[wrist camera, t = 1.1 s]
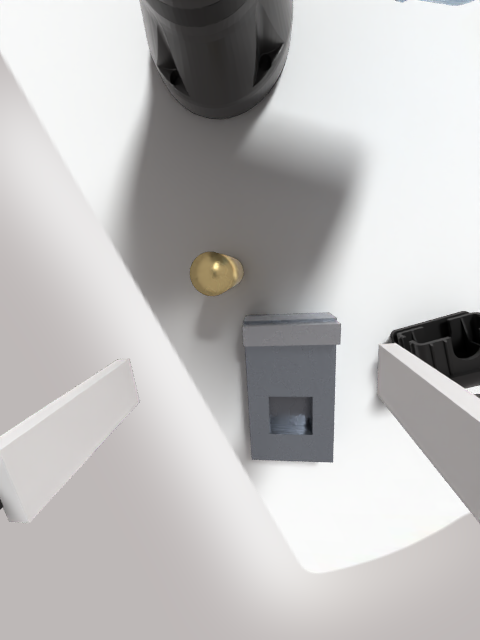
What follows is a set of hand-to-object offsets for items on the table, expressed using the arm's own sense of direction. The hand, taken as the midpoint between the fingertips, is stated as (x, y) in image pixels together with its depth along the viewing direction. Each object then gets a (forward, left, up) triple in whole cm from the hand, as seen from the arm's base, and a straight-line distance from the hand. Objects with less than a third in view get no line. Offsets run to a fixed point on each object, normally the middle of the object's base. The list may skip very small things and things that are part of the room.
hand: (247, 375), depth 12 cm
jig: (+11, +4, -20) cm, 23 cm away
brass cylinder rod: (-5, -4, -20) cm, 21 cm away
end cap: (+6, +22, -20) cm, 31 cm away
